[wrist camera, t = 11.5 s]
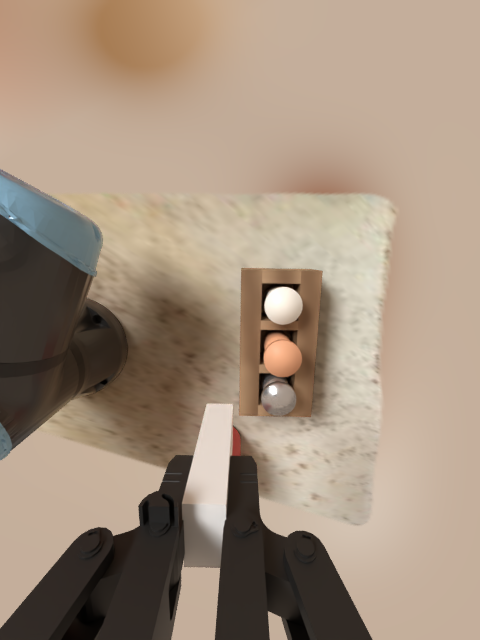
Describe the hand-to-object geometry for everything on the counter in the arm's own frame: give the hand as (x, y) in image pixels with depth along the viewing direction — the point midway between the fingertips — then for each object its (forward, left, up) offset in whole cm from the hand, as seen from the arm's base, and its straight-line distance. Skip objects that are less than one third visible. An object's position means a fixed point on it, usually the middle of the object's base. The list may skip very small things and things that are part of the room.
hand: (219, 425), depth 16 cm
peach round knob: (+6, -2, -23) cm, 24 cm away
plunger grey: (+6, -8, -24) cm, 26 cm away
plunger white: (+6, +4, -24) cm, 25 cm away
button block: (+6, -2, -26) cm, 27 cm away
